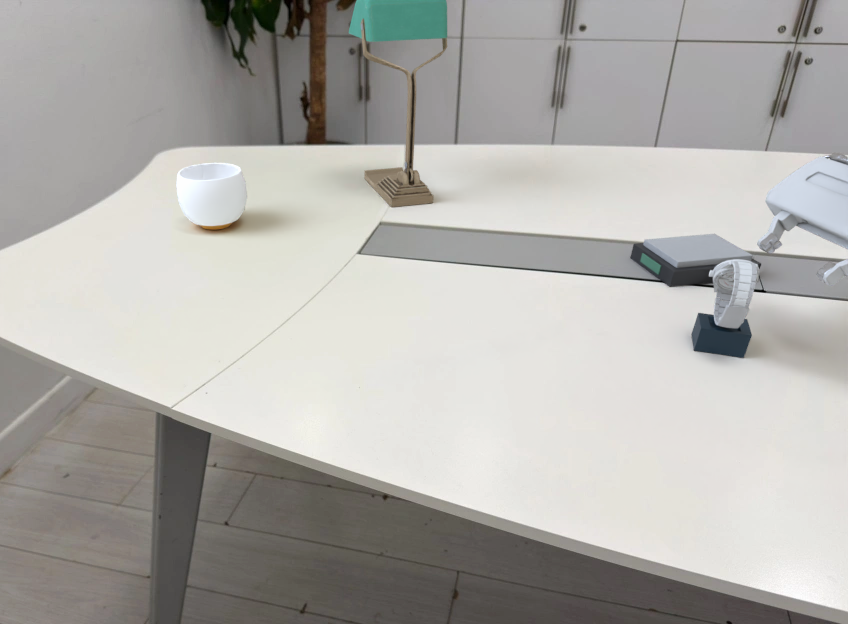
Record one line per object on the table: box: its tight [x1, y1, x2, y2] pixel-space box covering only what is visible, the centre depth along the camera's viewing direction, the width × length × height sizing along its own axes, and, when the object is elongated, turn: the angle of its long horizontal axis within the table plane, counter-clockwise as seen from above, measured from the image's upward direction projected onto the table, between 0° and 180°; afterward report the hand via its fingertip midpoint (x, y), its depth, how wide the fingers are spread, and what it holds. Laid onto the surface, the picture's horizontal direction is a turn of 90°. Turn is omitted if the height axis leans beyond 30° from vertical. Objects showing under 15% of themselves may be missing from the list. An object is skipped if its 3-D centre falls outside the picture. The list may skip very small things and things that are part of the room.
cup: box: [175, 162, 248, 231], centre depth 120 cm, size 12×12×10 cm
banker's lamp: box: [348, 0, 448, 208], centre depth 129 cm, size 16×21×35 cm
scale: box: [630, 233, 762, 287], centre depth 103 cm, size 14×11×3 cm
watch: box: [691, 259, 760, 359], centre depth 81 cm, size 6×8×11 cm
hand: (791, 263), depth 78 cm, fingers open, 8 cm apart
